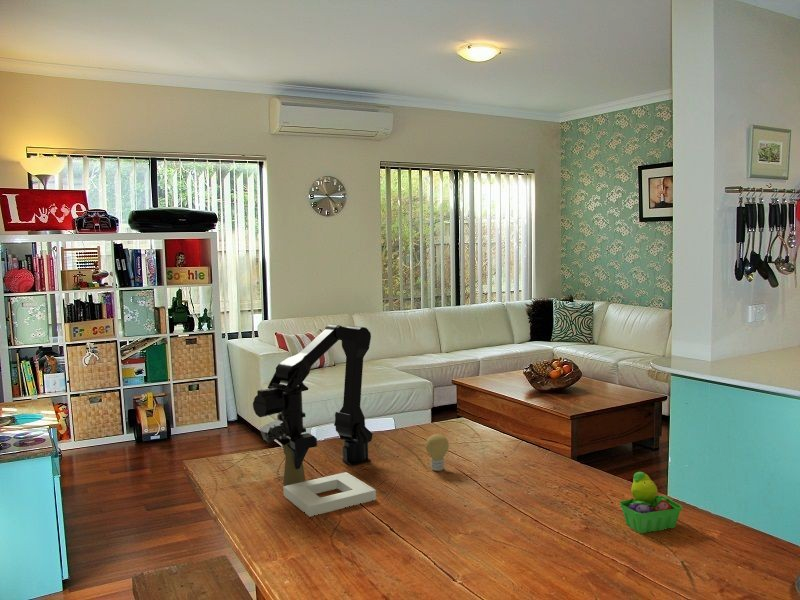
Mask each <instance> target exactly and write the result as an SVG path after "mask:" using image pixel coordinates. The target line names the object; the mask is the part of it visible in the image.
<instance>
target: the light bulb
mask: <svg viewBox="0 0 800 600" xmlns="http://www.w3.org/2000/svg"><path fill="white" fill-rule="evenodd" d="M449 447H450V446H449V441H448V439H447V438H446V437H445V436H444V435H442V434H440V433H436V434H435V433H434V434H431V435H429V436H428V437H427V440H426V441H425V448H426V449H425V450H426V452H427V454H428V455H429V456H430V457H431V458H430V469H431V470H432V471H435V472H441V471H443V470H444V468H445V458H444V457H445V456H446V454H447V453H448V451H449Z"/></svg>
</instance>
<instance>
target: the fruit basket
mask: <svg viewBox="0 0 800 600" xmlns="http://www.w3.org/2000/svg"><path fill="white" fill-rule="evenodd" d="M632 480H633V482H632V484H631V495H632V497H633V498H631V499H626V500H621V501H619V505H620V507H621V510H622V514H623V516H624V520H625V523H626V524H625V525H626V526H628V527H629V528H631V529H632V530H634V531H635V532H637V533H638V534H640V533H641V534H646V533H652V532H651V531H653V532H657V531H664V529H665V530H667V528H668V530H670V529H669V528H671V529H674V528H676V526H677V522H678V520H679V516H680V513H681V512H682V509H683V505H681V504H679V503H678V502H676V501H673V500H672V499H670V498H668V497H667V496H665V495H661V494H658V495H657V492H658V491H659V490H658V487H657V485H656V484H655V482H654V481H653V480H652V479H651V477H649V475H648V474H647V473H645V472H643V471H637V472H635V473H634V474H633V479H632Z"/></svg>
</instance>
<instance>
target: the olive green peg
mask: <svg viewBox="0 0 800 600" xmlns="http://www.w3.org/2000/svg"><path fill="white" fill-rule="evenodd" d="M289 445H290V442H289V443H287V444H285V446H284V448H283V447H282V451H283V454H284V455H285V459H284V461H285V462H284V471H283V482H282V485H283V486H284V485H285V486H287V485H291V484H296V483H300V482H305V481H307V480H306V475H305V469H304V465H303V462H304V461H303V462H302V464H301V467H300V469H295V465H294V460H293V454H292V450H290V449H289V448H288V447H287V446H289Z"/></svg>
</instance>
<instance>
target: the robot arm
mask: <svg viewBox="0 0 800 600" xmlns="http://www.w3.org/2000/svg"><path fill="white" fill-rule="evenodd" d="M371 340H372V334H371V331H370V330H369V328H367V327H364V326H357V325H356V326H355V325H347V326H342V325H339V324H328V325H327V326H325V328H324V330H322V332H321V333H320V334H318V335H317V336H316V337H315V338H314V339H313V340H312V341H310V342H309V344H308V345H306V346H305V347H304V348H302V350H301V351H299V352H298V353H297V354H295V355H293V356H289V357H287V358H286V359H284V360H283V361H281V362H280V363H278V365H277V366H276V367H275V372H274V374H273V376H272V378H271V380H270V381H269V383H268V385H267V389H258V390H257V395H255V397H254V398H253V402H252V408H253V411H254V414H255V415H256V416H257V417H259V418H264V417H268V416H271V415H275V414H277V419H275V420H272V421H271V422H269V423H267V424H265V425H263V426H261V427H260V428H259V431H260V433H261V436H262V438H263V440H264V441H266V442H267V443H268V444H269V443H270V444H271V443H273V442H274V441H275V440H276V441H277V442H278V443H279V444H281V446H282V449H283V448H284V446H285V444H287V443H289V442H290V445H289V446H287V447H288V448H289V449H290V450H292V454H293V460H294V465H295V469H300V467H301V464H302V462H304V460H305V457H306V455H307V453H308V451H309V449H311V448H315V447H318V438H317V437H316V436H314V435H313V434H311V433H309V432H307V428H306V427H304V418H306V412H304V411H303V409H304V408H303V392H305V391H308V390H309V389H310V388H309V387H308V386H306V385H305V384H304V381H305V380H306V378H307V377H308V376H309V375H310V372H311V368H312V367H313V365H314V364H315V363H316V362H317V361H318V360H319V359H320V358H322V357H323V356H324V355H325V354H326V353H327V352H328V351H329V350H330V349H331V348H332V347H333V346H334V345H335V344H336V343H337V342H338V341H341V348H342V350H343V353H344V354H345V368H344V369H345V373H344V387H343V388H344V389H343V401H342V407H341V408H340V410H339V411H336V412H335V413H334V414H335V415H334V417H335V418H334V423H333V426H335V431H336V432H337V434H338V436H339V439H340V440H343V444H344V445H343V446H342V458H341V460H342V461H343V462H345V463H347V464H349V465H350V466H356V465H359V464H360V465H361V464H364V463H370V462H372V459H371V458H369V443H370V442H372V440H373V433H372V432H371V431H370V430H369V429H368V428H367V427H366V418H365V415H364V412H363V410H362V408H361V399H362V398H361V397H362V383H363V368H364V357H365V356H366V354H367V352H368V351H369V349H370V344H371Z"/></svg>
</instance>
